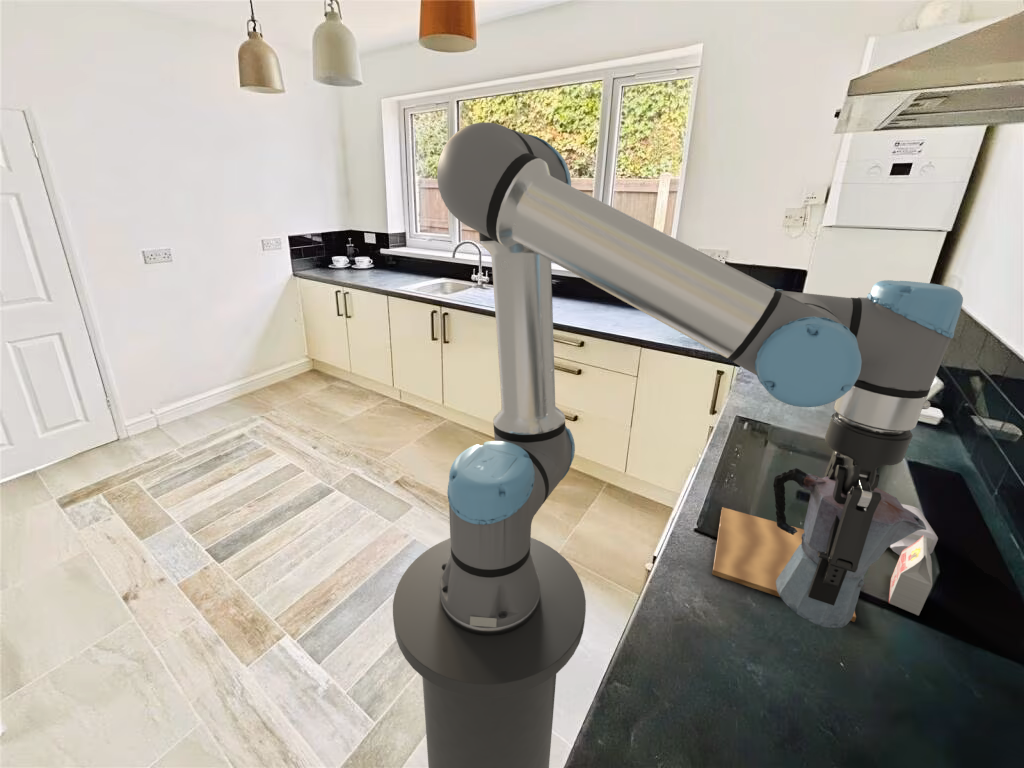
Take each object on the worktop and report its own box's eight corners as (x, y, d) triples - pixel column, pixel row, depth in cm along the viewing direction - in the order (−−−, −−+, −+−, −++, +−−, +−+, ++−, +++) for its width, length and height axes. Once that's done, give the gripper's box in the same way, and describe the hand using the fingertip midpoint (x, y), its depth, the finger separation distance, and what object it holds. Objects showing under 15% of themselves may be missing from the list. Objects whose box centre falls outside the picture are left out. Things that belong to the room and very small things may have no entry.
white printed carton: (919, 590, 75) (940, 540, 71) (918, 615, 70) (942, 564, 66) (890, 578, 77) (910, 530, 74) (888, 602, 72) (909, 552, 69)
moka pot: (879, 659, 54) (942, 519, 47) (739, 594, 62) (774, 467, 55) (879, 607, 61) (934, 479, 54) (753, 555, 70) (786, 439, 62)
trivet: (711, 574, 77) (713, 569, 77) (721, 511, 94) (722, 507, 93) (854, 622, 69) (856, 617, 68) (836, 543, 85) (838, 538, 85)
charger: (878, 563, 80) (857, 515, 93) (944, 580, 77) (913, 528, 90) (886, 541, 79) (864, 495, 92) (954, 557, 75) (921, 508, 88)
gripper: (944, 472, 42) (866, 651, 50) (891, 397, 59) (840, 539, 67) (846, 451, 45) (788, 623, 53) (823, 385, 62) (782, 523, 70)
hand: (817, 576), depth 60 cm, fingers closed on moka pot, 8 cm apart
